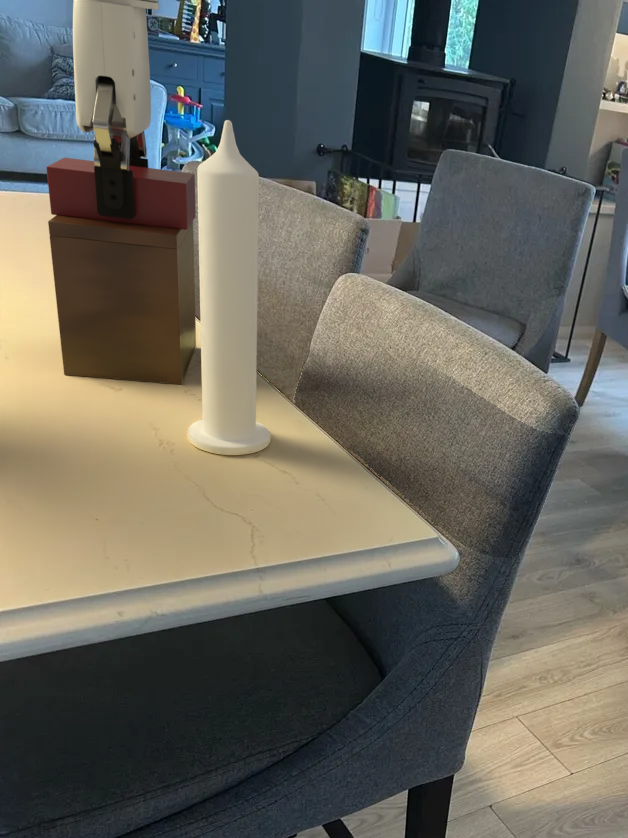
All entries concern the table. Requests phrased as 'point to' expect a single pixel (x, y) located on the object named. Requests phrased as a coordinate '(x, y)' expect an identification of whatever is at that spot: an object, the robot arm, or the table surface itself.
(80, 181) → the red rectangular block
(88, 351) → the brown rectangular block
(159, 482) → the table surface
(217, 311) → the candle
